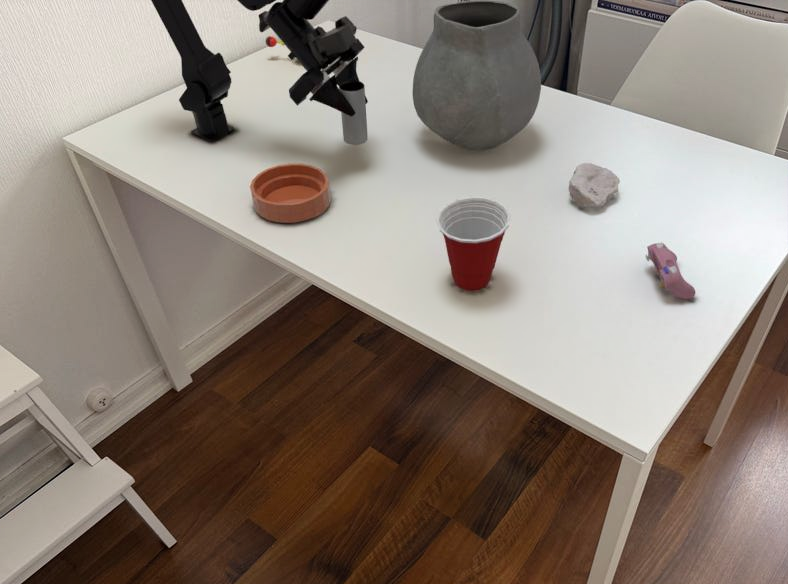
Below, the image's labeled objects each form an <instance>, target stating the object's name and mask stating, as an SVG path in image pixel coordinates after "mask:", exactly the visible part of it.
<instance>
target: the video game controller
mask: <svg viewBox="0 0 788 584" xmlns="http://www.w3.org/2000/svg"><path fill="white" fill-rule="evenodd" d="M646 249H647V254H646V253H645V260H646V261H648V262H650V261H651V262H652V263H653V266H654V268H655V269H654V270H655V271H656V274H657V276H658V278H659V279H660V281H661V282H659V283H660V286H661V287H662V288H664V290H665V291H666V292H667V291H668V292H670V293H671V294H673V295H674V296H675V297H677V298H679V299H682V300H691V299H693V298H694V297H695V296H696V289H695V287H694V286H693V285H692V284H690V283H689V282H688V281H686V280H685V279H684V277H683V275H682V274H681V273H682V272H681V270H680V268H679V266H678V264H677V261H678V256H677V255H676V253H674V252H673V251H672V250H670V249H669V248H668V246H667V245H666V244H664V243H663V242H662V241H661V242H656V243H652V244H650V245H647V247H646Z"/></svg>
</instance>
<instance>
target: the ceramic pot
mask: <svg viewBox="0 0 788 584" xmlns="http://www.w3.org/2000/svg"><path fill="white" fill-rule="evenodd" d="M412 79H413V80H412V92H411V93H412V101H413V107H414V109H415V112H416V115H417V116H418V118H419V119H420V121H421V122H422V123H423V125H425V127H427V128H428V129H429V130H430V131H431V132H433V133H434V134H435V135H437V136H439V137H440V138H441V139H443V140H445V141H446V142H448V143H449V144H450V145H452V146H455V147H458V148H461V149H465V150H469V151H487V150H492V149H495V148H498V147H500V146H502V145H503V144H505V143H506V142H508V141H510V140H511V139H513V138H514V137H515V136H517V135H518V134H519V133H520V132H521V131H523V130H524V129H525V128H526V127H527V126H528V124H530V122H531V120H532V119H533V117H534V115H535V113H536V110H537V108H538V106H539V102H540V98H541V96H540V95H541V90H542V76H541V70H540V64H539V61H538V58H537V56H536V54H535V51H534V49H533V47H532V45H531V43H530V42H529V41H528V39H527V38H526V37H525V35H524V33H523V32H522V30H521V12H520V8H519V7H518V6H516V5H515V4H513V3H510V2H506V1H501V0H461V1H456V2H454V3H453V2H452V3H448V4H442V5H439V6H437V7H436V8H435V9H434V12H433V30H432V32H431V34H430V36H429V38H428V39H427V41H426V42H425V45H424V47H423V49H422V51H421V52H420V55H419V57H418V60H417V62H416V65H415V69H414V73H413V78H412Z"/></svg>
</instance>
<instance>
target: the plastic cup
mask: <svg viewBox="0 0 788 584" xmlns="http://www.w3.org/2000/svg"><path fill="white" fill-rule="evenodd" d="M511 216H512V215H511V213H510V212H509V209H508V207H507V206H505V205H504V204H503V203H501V202H500V201H499V200H496V199H492V198H489V197H485V196H467V197H463V198H457V199H455V200H452V201H451V202H448V203H446V204H445V205H444V206H443V207H442V208H441V209H440V210H439V211H438V213H437V217H436V221H435V222H436V225H437V227H438V230H439V232H440V233H442V235H443V238H444V242H445V243H444V244H445V248H446V253H447V258H448V263H449V266H450V272H451V277H452V281H453V282H454V285H455V286H456V287H458V288H459V289H461V290H462V291H467V292H477V291H481V290H483V289H485V288H487V286H488V285H489V283H490V282H491V280H492V279H491V277H492V274H493V272H494V269H495V268H496V267H495V266H496V263H497V259H498V255H499V252H500V248H501V245H502V242H503V238H504V236H505V233H506V231H507V229H508V228H509V226H510V221H511Z"/></svg>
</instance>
